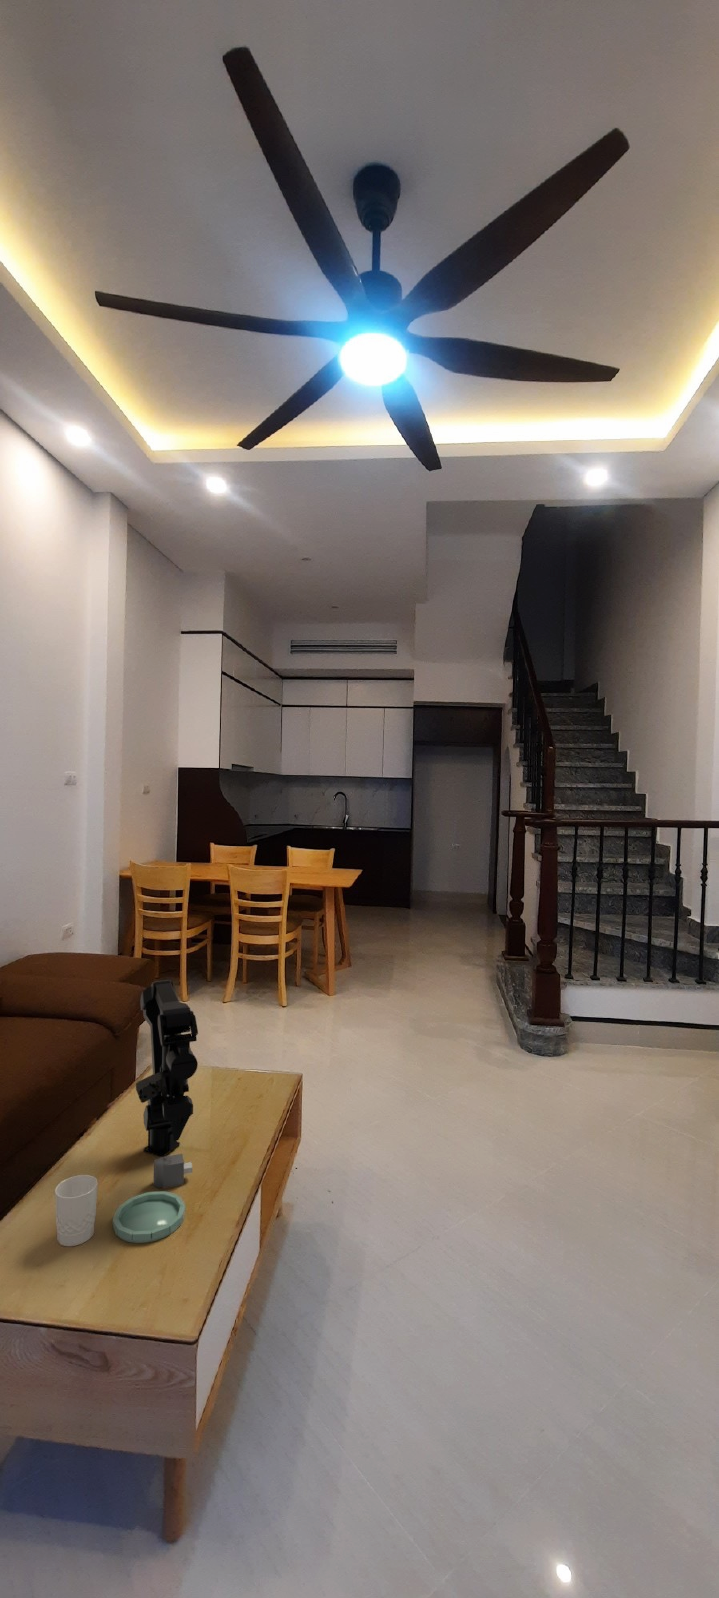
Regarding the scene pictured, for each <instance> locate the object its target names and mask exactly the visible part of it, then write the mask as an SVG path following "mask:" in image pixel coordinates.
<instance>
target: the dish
mask: <svg viewBox="0 0 719 1598" xmlns="http://www.w3.org/2000/svg"><path fill="white" fill-rule="evenodd" d="M185 1213H186V1203H185V1202H184V1201H183V1199H182V1198H181V1196H180V1195H179V1194H175V1193H172V1192H169V1191H164V1190H163V1191H148V1192H144V1193H141V1194H139V1195H136V1196H132V1197H131V1198H128V1199H127V1200H125V1202H124V1203H122V1204H121V1205H119V1206H118V1207H117V1209H116V1211H115V1213H114V1215H113V1218H112V1227H113V1231H114V1233H115V1235H116V1237H118V1238H119V1240H120V1239H121V1240H122V1241H124V1242H126V1243H131V1244H148V1243H152V1242H153V1243H154V1242H156V1241H159V1240H162V1239H164V1238H167V1237H168V1236H170V1235H171V1234H173V1233H174V1232H175V1231H177V1229H179V1228H180V1227H181V1226H182V1224H183V1222H184V1220H185Z"/></svg>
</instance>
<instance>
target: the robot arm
mask: <svg viewBox="0 0 719 1598" xmlns="http://www.w3.org/2000/svg"><path fill="white" fill-rule="evenodd" d="M139 1001H140V1002H139V1004H140V1005H139V1006H140V1010H141V1011H142V1014H143V1015H142V1016H143V1018H144V1020H145V1021H146V1023H147V1024H148V1025H149V1028H150V1042H151V1043H150V1046H151V1063H152V1074H151V1075H149V1076H147V1077H145V1078H142V1079H140V1080H138V1081H137V1082H136V1083H135V1091H136V1093H137V1095H138V1099H139V1101H140V1103H142V1104H143V1103H146V1102H147V1105H145V1106H144V1107H145V1108H144V1111H143V1115H142V1116H143V1124H144V1127H145V1130H146V1132H147V1131H148V1132H147V1145H146V1146H145V1147H143V1152H146V1153H149V1154H152V1155H156V1156H158V1157H165V1156H166V1155H168V1154H169V1153H170V1152H172V1151H174V1150H175V1149H176V1148H177V1147H179V1146H180V1145H181V1142H179V1140H180V1138H181V1136H182V1134H183V1132H184V1129H185V1127H186V1125H187V1123H188V1121H189V1119H190V1118H191V1116H192V1115H193V1114H194V1103H193V1100H192V1098H191V1097H190V1096H189V1095H185V1093H189V1092H190V1087H189V1079H190V1078H192V1077H193V1076H194V1074H195V1073H196V1072H197V1069H198V1064H199V1063H198V1060H197V1058H196V1055H195V1054H194V1053H193V1051H192V1050H191V1045H190V1044H191V1043H193V1042H197V1040H198V1039H197V1036H198V1034H199V1030H198V1024H197V1019H196V1014H194V1013H195V1012H194V1011H193V1010H191V1007H190V1006H189V1005H188V1003H185V1002H180V1000H179V998H178V996H177V993H176V987H175V986H174V982H173V980H170V979H165V980H164V979H163V980H155V981H154V982H151V985H150V986H148V987H147V988H145V989H144V990H142V992H141V994H140V1000H139ZM183 1033H184V1034H183Z"/></svg>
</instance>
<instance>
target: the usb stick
mask: <svg viewBox="0 0 719 1598" xmlns="http://www.w3.org/2000/svg"><path fill="white" fill-rule="evenodd" d="M187 1174H193V1164H192V1161H190V1162H185V1161H184V1156H183V1153H178V1154H172V1155H167V1156H166V1155H165V1156H163V1157H162V1156H159V1157H158V1158H155V1160H154V1161H153V1180H152V1181H153V1182H152V1183H153V1184H152V1185H153V1187H154V1188H156V1189H158V1190H159V1189H160V1190H161V1189H168V1188H172V1187H176V1186H177V1187H178V1186H182V1185H184V1184H185V1183H184V1182H185V1181H184V1180H185V1179H184V1178H185V1177H184V1176H185V1175H187Z"/></svg>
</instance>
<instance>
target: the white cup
mask: <svg viewBox="0 0 719 1598" xmlns="http://www.w3.org/2000/svg"><path fill="white" fill-rule="evenodd" d="M98 1183H99V1182H98V1179H97V1178H96V1177H95V1176H92V1175H89V1174H79V1175H74V1176H71V1177H68V1178H65V1179H63V1180H62V1181H61V1182H59V1184H57V1185H56V1187H55V1189H54V1195H55V1196H54V1199H55V1200H54V1201H55V1202H54V1203H55V1222H56V1234H57V1235H56V1236H57V1242H58V1244H60V1245H61V1246H63V1247H76V1246H80V1245H83V1244H85V1242H87V1241H88V1240H90V1239H91V1238H92V1237H93V1235H94V1232H95V1231H94V1230H95V1221H96V1213H97V1203H98V1202H97V1201H98V1186H99V1185H98Z"/></svg>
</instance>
